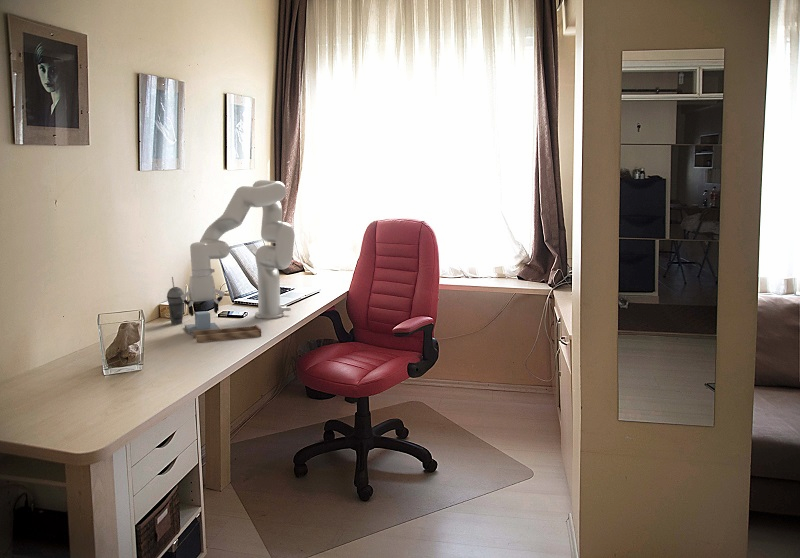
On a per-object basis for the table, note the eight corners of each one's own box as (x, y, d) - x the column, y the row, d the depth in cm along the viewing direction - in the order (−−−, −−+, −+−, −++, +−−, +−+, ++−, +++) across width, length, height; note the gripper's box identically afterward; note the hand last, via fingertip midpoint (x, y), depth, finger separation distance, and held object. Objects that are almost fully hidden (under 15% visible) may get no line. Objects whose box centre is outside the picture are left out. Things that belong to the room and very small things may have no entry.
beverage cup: (182, 325, 301) (180, 278, 298) (165, 325, 301) (163, 278, 298) (187, 321, 308) (186, 275, 305) (171, 321, 308) (169, 275, 305)
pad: (214, 325, 303) (214, 322, 303) (220, 331, 292) (220, 328, 292) (185, 327, 298) (184, 324, 298) (189, 334, 287) (189, 331, 287)
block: (207, 325, 298) (207, 311, 297) (210, 327, 293) (210, 313, 292) (195, 326, 295) (194, 312, 294) (198, 329, 291) (197, 314, 290)
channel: (256, 331, 293) (256, 324, 293) (261, 336, 286) (261, 329, 286) (193, 337, 283) (193, 329, 282) (197, 342, 276) (196, 334, 275)
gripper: (221, 269, 298) (223, 309, 301) (177, 273, 291) (180, 314, 294) (224, 272, 291) (227, 313, 295) (180, 276, 284) (183, 318, 288)
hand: (203, 314), depth 294 cm, fingers open, 9 cm apart
